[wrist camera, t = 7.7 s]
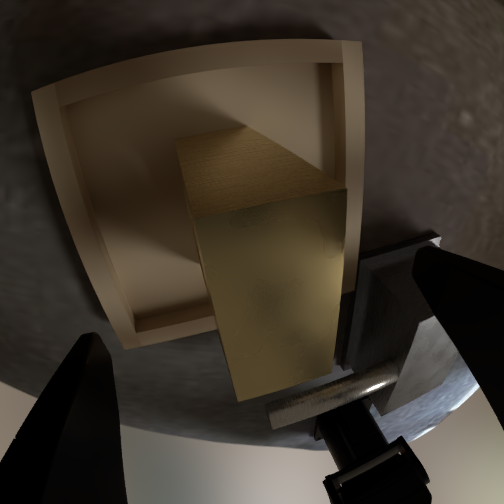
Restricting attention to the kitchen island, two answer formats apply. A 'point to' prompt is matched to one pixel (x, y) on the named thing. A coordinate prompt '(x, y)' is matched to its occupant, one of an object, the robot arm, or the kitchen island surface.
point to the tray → (167, 167)
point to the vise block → (381, 341)
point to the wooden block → (266, 255)
